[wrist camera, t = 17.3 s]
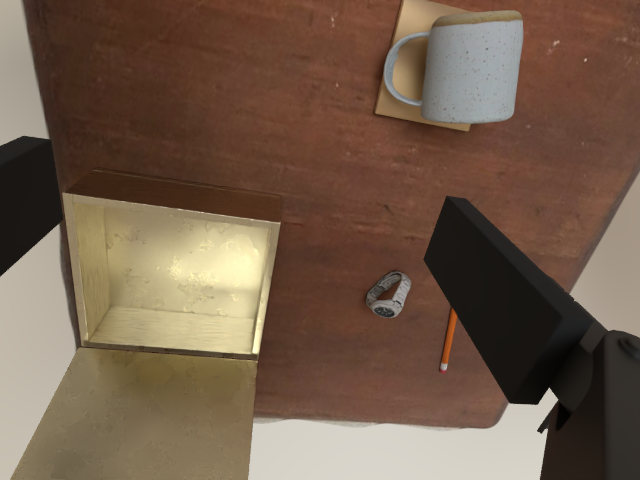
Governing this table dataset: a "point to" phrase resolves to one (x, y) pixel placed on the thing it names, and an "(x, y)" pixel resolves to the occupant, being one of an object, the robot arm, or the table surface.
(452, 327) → the pencil
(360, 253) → the table surface
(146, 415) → the box lid
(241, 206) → the open metal box
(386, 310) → the wristwatch
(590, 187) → the table surface
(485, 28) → the ceramic mug
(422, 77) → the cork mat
